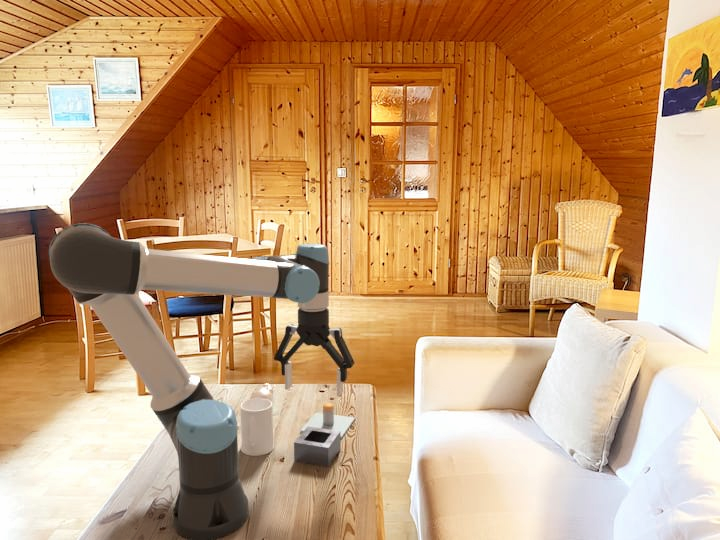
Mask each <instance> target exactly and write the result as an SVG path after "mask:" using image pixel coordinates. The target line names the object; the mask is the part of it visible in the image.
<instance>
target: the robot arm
mask: <svg viewBox="0 0 720 540" xmlns="http://www.w3.org/2000/svg"><path fill="white" fill-rule="evenodd" d="M329 256H330V255H329V249H328V247H327V245H325V244H322V243H321V244H320V243H302V244H299V245H298V246H297V247H296V251H295V253H292V254H283V255H281V254H280V255H279V254H278V255H262V256H257V257H256V256H255V257H251V258H241V257H233V256H222V255H213V254H212V255H211V254H202V253H201V254H200V253H194V252H193V253H192V252H184V251H183V252H182V251H175V250H174V251H173V250H163V249H153V248H147V247H145V246H144V245H143V244H142V243H141V242H139V241H131V240H125V239H120V238H117V237H113V236H111V235H110V233H109V232H107V231H106V230H105V229H103V228H102V227H101V226H98V225H96V224H92V223H87V222H86V223H84V222H83V223H75V224H72V225H69V226H66V227H64V228H63V229H61V230H60V231H58V232H57V233H56V234H55V235H54V237H53V238H52V240H51V241H50V244H49V249H48V257H49V265H50V270H51V272H52V274H53V276H54V278H55V279H56V280H57V281H58V282H59V283H60V284H61V285H62V286H64V287H65V288H67V290H68V291H69V292H70V293H71V295H72V296H73V298H74V299H75V301H76V302H77V303H78V304H79V305H83V306H87V307H88V306H89V307H91V309H92V311H93V312H94V314H95V315H96V316H97V318H98V319H99V321H100V322H101V324H102V325H103V327H104V328H105V329H106V331H107V332H108V333H109V336H111V338H112V340H113V341H114V343H115V344H116V345H117V347H118V348H119V349H120V350H119V351H121V353H122V354H123V355H124V357H125V359H126V360H127V361H128V363H129V364H130V366H131V367H132V368H133V370H134V371H135V373H136V374H137V376H138V377H139V378H140V380H141V382H142V383H143V384H144V386H145V387H146V389H147V390H148V392H149V393H150V395H151V396H152V397H151V400H150V408H151V409H152V412H154V414H155V416H156V417H157V418H158V420H159V422H161V424H162V426H163V427H164V429H165V430H166V432H167V433H168V435H169V437H170V439H171V441H172V443H173V446H174V448H175V450H176V452H177V458H178V476H179V477H178V478H179V489H178V492H177V496H176V499H175V503H174V506H173V511H172V525H173V529H174V531H175V532H176V533H177V534H178V535H179V536H181V537H183V538H186V539H188V540H216V539H219V538H223V537H225V536H228V535H230V534H232V533H234V532H235V531H237V530H238V529H240V528H241V527H242V526H243V524H245V522H246V521H247V519H248V516H249V513H250V511H249V500H248V497H247V495H246V493H245V490H244V488H243V485H242V483H241V480H240V476H239V452H238V451H239V450H238V449H239V447H238V431H239V430H238V429H239V426H238V420H237V415H236V412H235V409H233V407H232V406H231V405H230V404H228V403H227V402H224V401H219V400H217V399H214V397H213V395H212V394H211V393H210V391H209V390H208V388H207V386H205V383H204V382H203V380H202V379H201V377H200V376H199V375H198V374H197V373H190V372H189V371H188V370H187V369H186V367H185V366H184V364H183V363H182V361H181V359H180V357H178V354H177V353H176V352H175V350H174V348H173V347H172V346H171V344H170V342H169V341H168V339H167V338H166V336H165V335H164V333H163V332H162V330H161V328H160V327H159V325H158V323H157V322H156V320H155V319H154V317H153V316H152V314H151V313H150V311H149V310H148V308H147V307H146V305H145V303H144V302H143V300H142V299H141V298H140V296H139V294H138V293H139V292H141V291H146V290H147V291H161V292H173V293H174V292H176V293H178V292H179V293H190V294H191V293H193V294H205V295H206V294H209V295H224V296H225V295H228V296H238V297H239V296H240V297H241V296H242V297H259V298H272V299H284V300H286V299H287V300H289V301H292V302H293V303H297V307H298V309H297V325H294V323H289V324H288V325H287V326H286V327H285V330H284V331H285V332H284V336H283V337H282V340H281V342H280V344H279V347H277V350H276V352H275V355H274V357H273V359H274V360H273V361H276V362H279V363H280V364H281V369H280V370H281V375H282V376H283V377H284V389H285V390H286V391H287V390H289V389H290V388H292V387H293V370H292V369H293V367H292V365H293V364H292V363H293V362H292V361H291V360H290V359H291V358H292V357H293V355H294V354H295V353H296V352H297V351H298V350H299V348H301V346H302V345H303V344H305V345H306V346H314V347H319V346H321V348H322V349H324V350H325V351H326V352H327V354H328V355H329V357H330V358H331V359H332V360H333V362H334V363H335V364H336V366H337V367H338V368H337V369H336V396H339V397H340V396H341V395H342V394H343V392H344V383H345V382H346V380H347V379H348V369H351V368H353V366H354V365H355V360H354V358H353V357H352V356H353V355H352V354H351V352H350V350H349V348H348V346H347V344H346V341H345V340H344V337H343V331H342V328H341V327H337V328H332V329H331V328H330V326H329V325H330V324H329V322H330V317H329V316H330V312H329V311H330V309H329V308H328V307H329V306H330V301H329V299H330V298H329V295H330V294H329V293H330V290H329V279H330V278H329V274H330V273H329V272H330V271H329V270H330V268H329V266H330V259H329V258H330V257H329ZM295 333H297V335H298V336H299V338H298V339H297V341H296V342H295V343H294V345H293V346H292V347H291V348H290V349H289V350H288V351H287V353H285V351H286V350H287V347H288V345H289V343H290V341H291V339H292V337H293V335H294V334H295ZM330 335H331V337H332V338H333V339H334V343H335V344H336V346H337V348H338V350H337V349H336V347H335V346H334V344H333V343H332V341H331V339H330V338H329V336H330ZM284 353H285V355H284Z"/></svg>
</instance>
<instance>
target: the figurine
mask: <svg viewBox="0 0 720 540" xmlns="http://www.w3.org/2000/svg"><path fill="white" fill-rule="evenodd" d="M275 387H276V386H275V385H273V386H272V385H270V384H269V383H267V382H266V383H263V384H262V386H260V387H258V388H256V389H254V391H252V392H251V395H250V398H249V399H255V398H263V399H268V400H270V401H271V402H272V408H273V406H274V403H275V398H274V394H275V393H274V392H275V390H274V389H275Z"/></svg>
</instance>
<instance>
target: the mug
mask: <svg viewBox="0 0 720 540" xmlns="http://www.w3.org/2000/svg"><path fill="white" fill-rule="evenodd" d="M239 407H240V408H239V409H240V433H241V435H240V436H241V445H240V446H241V447H240V450H241V451H240V452H242V453H243V454H244V455H246V456H250V457H251V456H252V457H258V456H265V455H267V454H270V453H271V452H272V451H273V450H274V449H275V443H274V441H275V440H274V423H273V422H274V418H273V416H274V415H273V411H274V410H273V407H272V402H271V401H270V400H268V399H263V398H255V399H250V398H249V399H247V400H244V401H243V402H241V404H240V406H239Z"/></svg>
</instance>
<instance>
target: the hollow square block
mask: <svg viewBox="0 0 720 540" xmlns="http://www.w3.org/2000/svg"><path fill="white" fill-rule="evenodd" d="M293 447H294V448H293V455H294V457H293V458H294V460H293V461H294V462H295V463H303V464H309V465H315V466H321V467H326V468H329V467H330V466H329V465H331V464H332V463H333V461H334V460H335V458H336V457H337V455H339V452H340V450H341V438H340V431H335V430H328V429H322V428H315V427H307V428H306V429H305V430H304V432H303V433H301V434H300V435H299V436H298V437H297V438H296V439H295V441H294V442H293ZM335 456H336V457H335Z"/></svg>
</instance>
